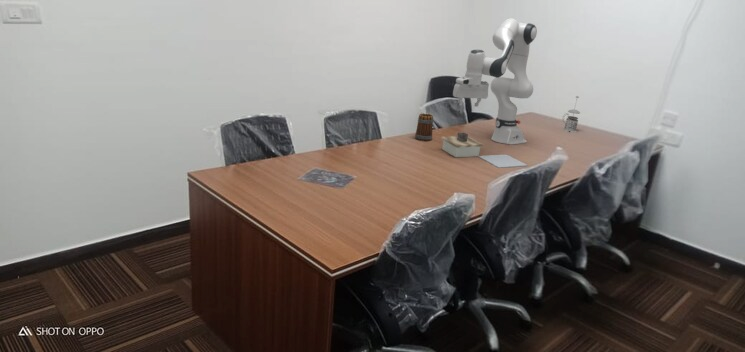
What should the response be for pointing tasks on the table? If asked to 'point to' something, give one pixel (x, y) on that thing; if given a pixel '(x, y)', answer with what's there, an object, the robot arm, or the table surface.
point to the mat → (502, 161)
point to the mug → (424, 127)
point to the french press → (571, 120)
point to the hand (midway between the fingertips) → (468, 106)
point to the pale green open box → (460, 150)
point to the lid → (462, 141)
